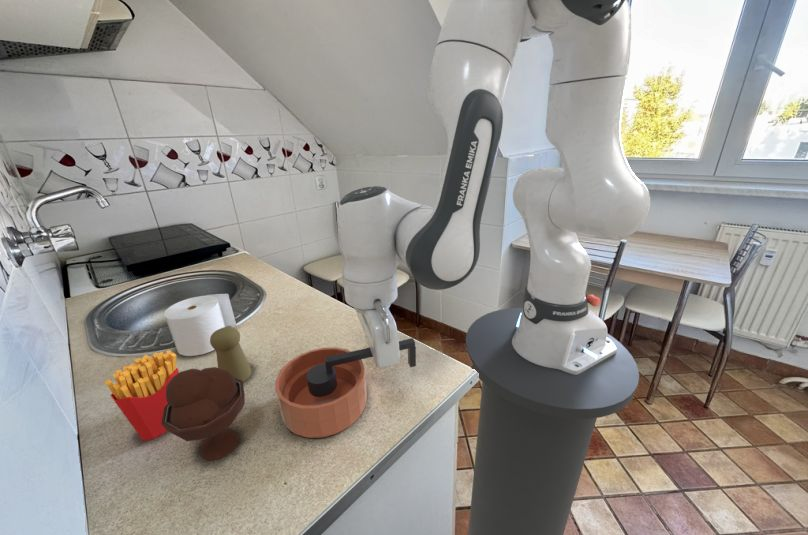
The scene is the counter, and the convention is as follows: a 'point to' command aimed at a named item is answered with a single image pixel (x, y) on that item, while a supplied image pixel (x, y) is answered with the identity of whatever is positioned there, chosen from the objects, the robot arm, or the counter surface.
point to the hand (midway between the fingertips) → (376, 355)
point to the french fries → (144, 392)
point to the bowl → (320, 412)
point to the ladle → (324, 375)
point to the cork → (230, 352)
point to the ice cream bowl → (204, 409)
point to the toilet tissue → (198, 322)
